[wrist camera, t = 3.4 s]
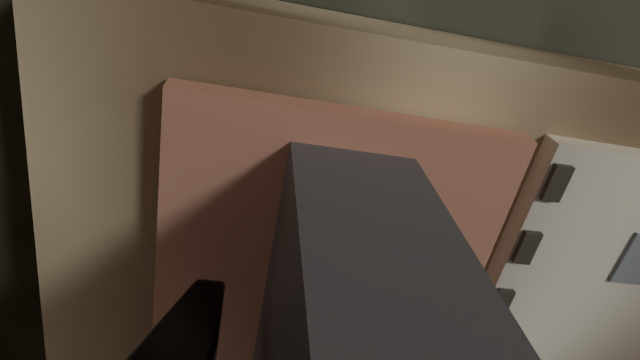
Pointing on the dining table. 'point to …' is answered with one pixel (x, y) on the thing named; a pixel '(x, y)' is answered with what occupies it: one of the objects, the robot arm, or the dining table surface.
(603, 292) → the ticket board
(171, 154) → the stub
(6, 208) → the dining table surface
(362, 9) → the dining table surface
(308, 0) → the dining table surface
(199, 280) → the robot arm
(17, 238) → the dining table surface
